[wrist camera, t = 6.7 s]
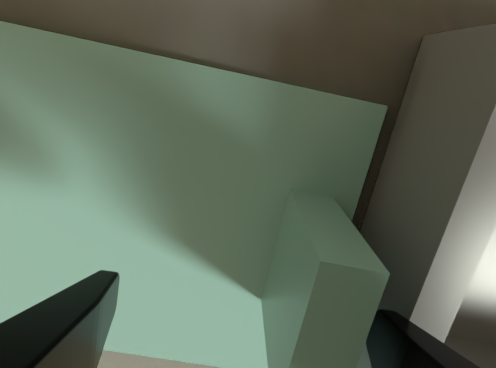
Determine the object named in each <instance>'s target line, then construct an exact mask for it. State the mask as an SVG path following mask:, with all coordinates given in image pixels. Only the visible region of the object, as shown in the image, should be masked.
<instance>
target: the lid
mask: <svg viewBox="0 0 496 368" xmlns="http://www.w3.org/2000/svg"><path fill="white" fill-rule="evenodd" d="M387 108H388V106H386V105H381V104H377V103H372V102H368V101H363V100H359V99H354V98H349V97H345V96H340V95H336V94H331V93H327V92H322V91H318V90H313V89H308V88H304V87H299V86H295V85H290V84H286V83H281V82H277V81H272V80H268V79H263V78H258V77H254V76H249V75H245V74H240V73H236V72H231V71H227V70H222V69H217V68H213V67H208V66H204V65H199V64H195V63H190V62H186V61H181V60H176V59H172V58H167V57H163V56H158V55H154V54H149V53H145V52H140V51H136V50H131V49H126V48H122V47H117V46H113V45H108V44H104V43H99V42H95V41H90V40H85V39H81V38H76V37H72V36H67V35H63V34H58V33H54V32H49V31H45V30H40V29H35V28H31V27H26V26H22V25H17V24H13V23H8V22H4V21H0V323H2V322H3V321H5V320H7V319H9V318H11V317H13V316H15V315H17V314H18V313H20V312H22V311H24V310H26V309H28V308H30V307H32V306H34V305H35V304H37V303H39V302H41V301H43V300H45V299H47V298H49V297H50V296H52V295H54V294H56V293H58V292H60V291H62V290H64V289H66V288H67V287H69V286H71V285H73V284H75V283H77V282H79V281H81V280H82V279H84V278H86V277H88V276H90V275H92V274H94V273H96V272H97V271H100V270H107V271H114V272H118V273H119V275H120V280H119V289H118V298H117V306H116V311H115V314H114V317H113V320H112V323H111V326H110V329H109V332H108V335H107V338H106V341H105V345H104V348H103V350H107V351H114V352H121V353H127V354H134V355H141V356H147V357H154V358H161V359H167V360H174V361H181V362H187V363H194V364H201V365H207V366H214V367H221V368H356V366H357V364H358V361H359V358H360V355H361V353H362V350H363V347H364V344H365V342H366V339H367V336H368V333H369V331H370V328H371V325H372V322H373V319H374V317H375V314H376V311H377V308H378V306H379V303H380V300H381V297H382V295H383V292H384V289H385V286H386V284H387V281H388V278H389V275H390V273H389V272H388V270H387V269H386V268H385V266H384V265H383V263H382V262H381V261H380V259H379V258H378V257H377V255H376V254H375V253H374V251H373V250H372V249H371V247H370V246H369V245H368V243H367V242H366V241H365V239H364V238H363V237H362V235H361V234H360V233H359V231H358V230H357V229H356V227H355V226H354V225H353V223H352V219H353V216H354V213H355V210H356V207H357V203H358V200H359V197H360V194H361V191H362V188H363V184H364V181H365V178H366V175H367V172H368V168H369V165H370V162H371V159H372V156H373V153H374V149H375V146H376V143H377V140H378V137H379V133H380V130H381V127H382V124H383V121H384V118H385V114H386V111H387Z"/></svg>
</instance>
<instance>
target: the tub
mask: <svg viewBox="0 0 496 368" xmlns="http://www.w3.org/2000/svg"><path fill="white" fill-rule="evenodd" d="M359 233H360V234H361V235H362V237H363V238H364V239H365V241H366V242H367V243H368V245H369V246H370V247H371V249H372V250H373V251H374V253H375V254H376V255H377V257H378V258H379V259H380V261H381V262H382V263H383V265H384V266H385V268H386V269H387V270H388V272H389V273H390V275H389V278H388V281H387V284H386V286H385V289H384V292H383V295H382V297H381V300H380V303H379V306H378V308H377V310H379V309H386V310H393V311H396V312H397V313H399V314H400V315H402V316H403V317H405V318H406V319H408V320H409V321H411V322H412V323H414V324H415V325H417V326H418V327H420V328H421V329H423V330H424V331H426V332H428V333H429V334H431V335H432V336H434V337H435V338H437V339H438V340H440V341H441V342H443V343H444V344H446V345H447V346H449V347H450V348H452V349H453V350H455V351H456V352H458V353H459V354H461V355H462V356H464V357H465V358H467V359H468V360H470V361H471V362H473V363H474V364H476V365H477V366H479V367H480V368H496V23H493V24H487V25H482V26H476V27H470V28H464V29H458V30H452V31H447V32H441V33H435V34H429V35H424V36H423V39H422V42H421V45H420V48H419V52H418V55H417V58H416V61H415V64H414V67H413V70H412V73H411V76H410V79H409V82H408V85H407V88H406V91H405V94H404V97H403V101H402V104H401V107H400V110H399V113H398V116H397V119H396V122H395V125H394V128H393V131H392V134H391V137H390V140H389V143H388V147H387V150H386V153H385V156H384V159H383V162H382V165H381V168H380V171H379V174H378V177H377V180H376V183H375V186H374V189H373V193H372V196H371V199H370V202H369V205H368V208H367V211H366V214H365V217H364V220H363V223H362V226H361V229H360V232H359ZM356 368H371V364H370V360H369V356H368V352H367V348H366V342H365V344H364V347H363V350H362V353H361V355H360V358H359V361H358V364H357V366H356Z"/></svg>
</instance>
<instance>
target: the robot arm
mask: <svg viewBox="0 0 496 368" xmlns="http://www.w3.org/2000/svg"><path fill="white" fill-rule="evenodd" d="M119 280H120V275H119V273H118V272H114V271H107V270H100V271H97V272H96V273H94V274H92V275H90V276H88V277H86V278H84V279H82V280H81V281H79V282H77V283H75V284H73V285H71V286H69V287H67V288H66V289H64V290H62V291H60V292H58V293H56V294H54V295H52V296H50V297H49V298H47V299H45V300H43V301H41V302H39V303H37V304H35V305H34V306H32V307H30V308H28V309H26V310H24V311H22V312H20V313H18V314H17V315H15V316H13V317H11V318H9V319H7V320H5V321H3V322H2V323H0V368H97V366H98V363H99V360H100V357H101V354H102V351H103V348H104V345H105V341H106V338H107V335H108V332H109V329H110V326H111V323H112V320H113V317H114V314H115V311H116V306H117V298H118V289H119ZM366 348H367V352H368V356H369V360H370V364H371V368H480V367H479V366H477V365H476V364H474V363H473V362H471V361H470V360H468V359H467V358H465V357H464V356H462V355H461V354H459V353H458V352H456V351H455V350H453V349H452V348H450V347H449V346H447V345H446V344H444V343H443V342H441V341H440V340H438V339H437V338H435V337H434V336H432V335H431V334H429V333H428V332H426V331H424V330H423V329H421V328H420V327H418V326H417V325H415V324H414V323H412V322H411V321H409V320H408V319H406V318H405V317H403V316H402V315H400V314H399V313H397V312H396V311H393V310H386V309H379V310H377V311H376V314H375V317H374V319H373V322H372V325H371V328H370V331H369V333H368V336H367V339H366Z"/></svg>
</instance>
